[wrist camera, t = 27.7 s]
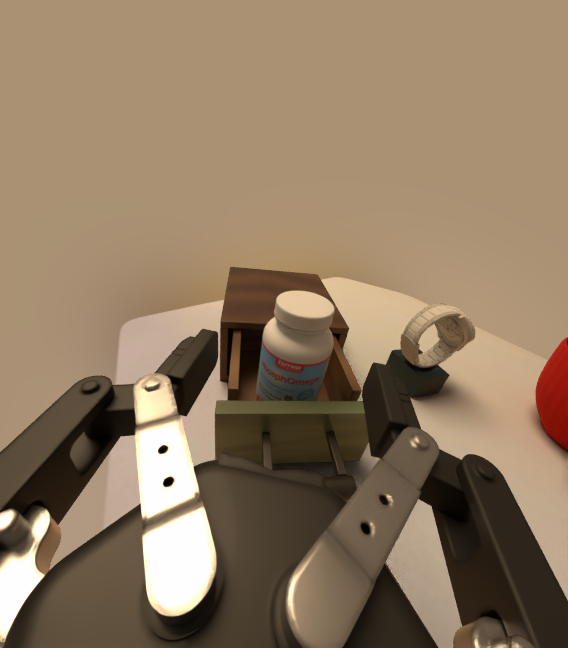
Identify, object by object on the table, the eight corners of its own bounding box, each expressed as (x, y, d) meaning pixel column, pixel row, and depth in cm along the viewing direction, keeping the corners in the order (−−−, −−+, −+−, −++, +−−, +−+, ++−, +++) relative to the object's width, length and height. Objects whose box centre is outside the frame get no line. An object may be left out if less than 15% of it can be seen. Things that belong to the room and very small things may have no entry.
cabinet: (332, 382, 32) (349, 328, 28) (220, 380, 30) (220, 321, 26) (308, 318, 45) (317, 274, 41) (229, 313, 43) (230, 266, 39)
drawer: (382, 523, 19) (416, 477, 16) (207, 537, 17) (204, 487, 14) (321, 356, 35) (332, 316, 32) (228, 352, 33) (229, 309, 30)
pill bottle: (247, 419, 24) (257, 312, 18) (263, 375, 29) (275, 281, 23) (312, 435, 23) (344, 330, 17) (317, 387, 28) (342, 294, 23)
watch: (449, 390, 34) (496, 319, 28) (400, 400, 31) (441, 323, 25) (418, 362, 38) (453, 295, 33) (373, 369, 36) (403, 297, 30)
